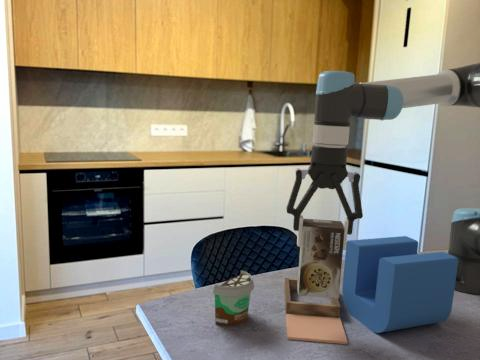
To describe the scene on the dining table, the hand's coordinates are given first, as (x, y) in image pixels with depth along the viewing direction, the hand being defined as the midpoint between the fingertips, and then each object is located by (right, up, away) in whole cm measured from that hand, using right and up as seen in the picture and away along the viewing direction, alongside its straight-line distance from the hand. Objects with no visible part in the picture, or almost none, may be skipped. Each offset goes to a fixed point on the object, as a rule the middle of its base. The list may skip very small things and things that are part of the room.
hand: (320, 246), depth 102 cm
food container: (-19, -19, +6) cm, 27 cm away
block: (+19, -20, +11) cm, 30 cm away
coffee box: (-1, -11, +2) cm, 11 cm away
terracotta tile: (-1, -20, +4) cm, 20 cm away
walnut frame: (0, -17, +18) cm, 25 cm away
